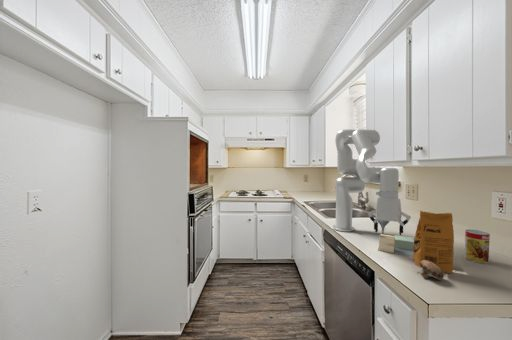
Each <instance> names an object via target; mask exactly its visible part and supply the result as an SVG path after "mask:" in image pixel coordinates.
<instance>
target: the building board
mask: <svg viewBox="0 0 512 340" xmlns="http://www.w3.org/2000/svg"><path fill="white" fill-rule="evenodd" d="M377 251H378V252H381V251H380V250H379V247H378V248H377ZM382 252H383V253H387V252H386V251H382ZM388 253H390V254H395V255H401V256H406V257H412V258H413V251H411V250H405V249H399V248H394V253H392V252H388Z"/></svg>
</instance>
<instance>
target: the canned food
mask: <svg viewBox="0 0 512 340" xmlns="http://www.w3.org/2000/svg"><path fill="white" fill-rule="evenodd" d="M490 235H491V233H490V232H488V231H484V230H479V229H465V233H464V236H465V237H464V259H465V260H468V261H470V262H474V263H479V264H488V263H489V261H490V257H489V255H490V238H491V237H490Z"/></svg>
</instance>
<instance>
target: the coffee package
mask: <svg viewBox="0 0 512 340" xmlns="http://www.w3.org/2000/svg"><path fill="white" fill-rule="evenodd" d="M453 221H454V220H453V213H452V212H444V213H434V212H429V211H423V210H419V218H418V223H417V225H416V231H415V237H414V247H413V257H412V259H413V260H414V263H415V265H416V266H417V267H419V268H422V267H421V266H420V261H422V260H428V261H431V262H432V263H434V264H435V265H437V266H438V267H439V268H440V269H441V270H442V272H443V273H444V274H452V273H453V271H454V270H453V269H454V249H455V248H454V244H455V240H454V239H455V236H454V234H455V232H454V231H455V230H454V225H453Z"/></svg>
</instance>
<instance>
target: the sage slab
mask: <svg viewBox="0 0 512 340" xmlns="http://www.w3.org/2000/svg"><path fill="white" fill-rule="evenodd" d="M393 236H395V248H399V249H405V250H411V251H413V247H414V240H415V237H413V236H412V237H411V236H405V235H404V236H403V235H397V234H395V235H393Z"/></svg>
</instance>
